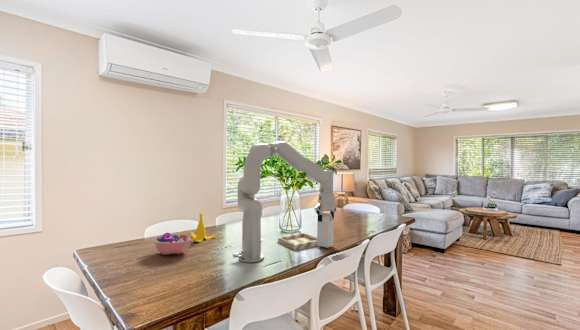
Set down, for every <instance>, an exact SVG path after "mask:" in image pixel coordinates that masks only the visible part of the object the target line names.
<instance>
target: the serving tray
mask: <svg viewBox="0 0 580 330" xmlns="http://www.w3.org/2000/svg"><path fill="white" fill-rule="evenodd" d="M277 243H279V244H281V245H283V246H284V247H286V248H288V249H291V250H293V251H297V250H298V251H299V250H303V249H308V248H312V247H313V248H314V247H317V246H318V245H317V236H313V235H311V234H309V233H306V232H302V233H296V234H291V235H284V236H279V237H277Z"/></svg>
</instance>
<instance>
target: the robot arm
mask: <svg viewBox="0 0 580 330" xmlns="http://www.w3.org/2000/svg"><path fill="white" fill-rule="evenodd" d="M276 157H278V158H280V159H281V160H282V161H284V163H286V164H287V165H289V166H290V167H291V168H293V169H295V170H297V171H300V172H302V173H305V174H306V179H307V180H308V181H309V182H311V183H316V184H319V189H318V192H319V194H318V199H317V204H316V206H314V211H315V213H316V214H317V222H318V221H320V222H322V215H321V214H322V213H324V212H329V214H331V216H332V217H333V219H334V220H335V213H336V211H337V208H338V205H337V204H336V197H335V192H334V171H333V170H332V169H324V168H322V167H321V166H320V165H319V164H318V163H316V162H315V161H313V160H311V159H310V158H308V157H305V156H304V155H303V154H301V153H300V152H299V151H297V150H296V149H295V148H294V147H292V146H291V145H290V144H289V143H287V142H286V141H284V140H280V141H273V142H265V143H264V142H263V143H262V142H261V143H254V144H253V145H252V146H251V147H250V148H249V152H248V154H247V156H246V157H245V160H244V164H243V176H242V177H241V178H239V180H238V182H237V183H238V184H237V207H238V209H239V211H240V212H242V213H243V214H242V219H241V220H242V221H241V222H242V224H241V230H242V231H241V241H242V242H241V245H242V247H241V249H240V251H239V252H237V253H232V256H233V257H232V258H237V259H238V260H239V261H240V262H242V263H247V264H252V263H253V264H255V263H258V262H261V261H263V260H264V258H265V256H264V254H263V253H261V252H262V251H261V250H262V242H261V238H262V237H261V236H262V235H261V234H262V232H261V231H262V230H261V229H262V213H263V205H262V203H261V201H260V200H259V199H258V198H256V195H257V194H258V193H259V192H260V190H261V168H262V165H263V163H264V161H265V160H267V159H270V158H271V159H272V158H276Z"/></svg>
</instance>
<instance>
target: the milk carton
mask: <svg viewBox="0 0 580 330" xmlns="http://www.w3.org/2000/svg"><path fill="white" fill-rule="evenodd" d="M321 215H322V222H320V221H318V220H317V222H316V223H317V224H316V225H317V228H316V229H317V230H316V232H317V233H316V238H317V246H318V247H323V248H330V247H333V246H334V241H335V240H334V238H335V237H334V236H335V235H334V234H335V218H334V219H333V217H332V216H331V214H330V212H329V213H328V212H322V214H321Z"/></svg>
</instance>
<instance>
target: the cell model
mask: <svg viewBox="0 0 580 330" xmlns="http://www.w3.org/2000/svg"><path fill="white" fill-rule="evenodd" d="M192 241H193V238H192V236H191V235H188V234H187V235H186V234H171V233H170V232H165V233H163V234H162V235H161V236H158V237H156V238H154V239H153V244H154V245H155V246H154V247H155V248H156V250H157V251H158V252H159V253H160V254H161V255H164V256H167V255H174V254H175V255H181V254H183V253H184V252H185V251H186V250H188V249H189V247H190V245H191V242H192Z"/></svg>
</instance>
